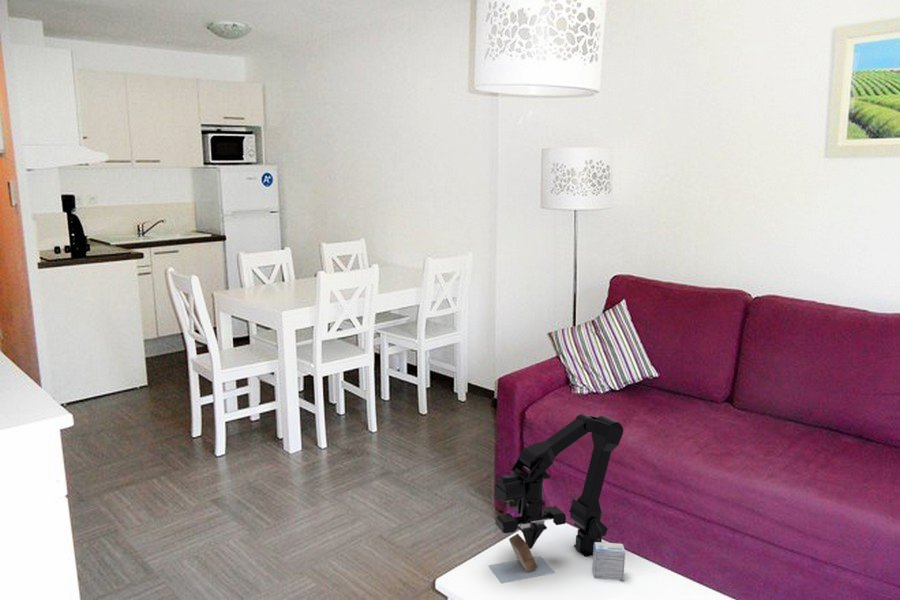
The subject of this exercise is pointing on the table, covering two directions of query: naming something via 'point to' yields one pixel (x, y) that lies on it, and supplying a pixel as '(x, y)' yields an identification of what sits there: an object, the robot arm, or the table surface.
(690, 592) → the table surface
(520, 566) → the mat
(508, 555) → the table surface
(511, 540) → the walnut tile
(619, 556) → the medicine box
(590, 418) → the robot arm
